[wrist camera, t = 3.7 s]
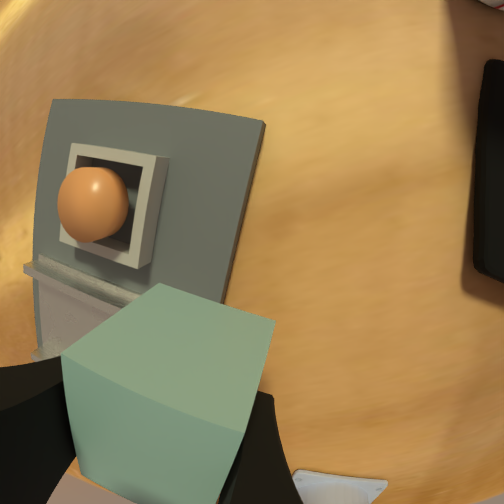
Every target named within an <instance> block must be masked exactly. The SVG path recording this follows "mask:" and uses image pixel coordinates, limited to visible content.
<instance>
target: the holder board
mask: <svg viewBox="0 0 504 504" xmlns="http://www.w3.org/2000/svg"><path fill="white" fill-rule="evenodd" d="M265 126H266V124H265V123H264V121H262V120H257V119H252V118H247V117H242V116H236V115H231V114H225V113H219V112H213V111H206V110H200V109H193V108H185V107H177V106H169V105H160V104H150V103H139V102H126V101H110V100H85V99H53V100H52V104H51V109H50V113H49V117H48V122H47V127H46V132H45V137H44V142H43V148H42V154H41V160H40V167H39V174H38V182H37V191H36V201H35V213H34V229H33V261H34V260H36V259H38V258H39V254H40V253H43V254H45V255H47V256H50V257H52V258H54V259H56V260H59V261H61V262H64V263H66V264H68V265H71V266H73V267H75V268H78V269H80V270H83V271H85V272H88V273H90V274H93V275H95V276H98V277H100V278H103V279H105V280H108V281H110V282H113V283H116V284H118V285H121V286H124V287H126V288H129V289H132V290H134V291H137V292H140V293H142V294H144V293H145V292H147V291H148V290H149V289H151V288H152V287H154V286H155V285H157V284H158V283H162V284H164V285H167V286H170V287H173V288H176V289H179V290H182V291H185V292H187V293H190V294H193V295H196V296H199V297H202V298H205V299H208V300H211V301H214V302H217V303H220V304H223V303H224V298H225V294H226V289H227V285H228V281H229V276H230V272H231V268H232V263H233V259H234V255H235V250H236V246H237V242H238V237H239V233H240V229H241V225H242V220H243V216H244V212H245V208H246V204H247V199H248V195H249V191H250V187H251V183H252V179H253V175H254V170H255V166H256V162H257V158H258V154H259V150H260V146H261V142H262V138H263V134H264V130H265ZM72 143H78V144H88V145H95V146H102V147H109V148H115V149H122V150H128V151H134V152H140V153H145V154H151V155H156V156H162V157H167V158H170V160H169V164H168V169H167V174H166V179H165V184H164V189H163V194H162V199H161V204H160V210H159V215H158V221H157V227H156V233H155V239H154V246H153V252H152V259H151V262H150V263H148V264H146V265H144V266H143V267H141V268H139V269H135V268H133V267H130V266H127V265H124V264H121V263H118V262H115V261H113V260H110V259H107V258H104V257H101V256H99V255H96V254H93V253H90V252H88V251H85V250H82V249H80V248H77V247H74V246H72V245H69V244H66V243H64V242H61V241H59V239H60V225H61V221H60V218H59V214H58V206H57V202H58V194H59V190H60V187H61V184H62V182H63V181H64V179H65V178H66V173H67V166H68V160H69V154H70V149H71V144H72ZM91 167H103V168H109V169H111V170H113V171H114V172H116V173H117V174H118V175H119V176H120V177H121V178H122V180H123V182H124V184H125V186H126V188H127V192H128V197H129V208H128V214H127V217H126V220H125V222H124V224H123V225H122V227H121V228H120V229H119V230H118V231H117V232H116V233H115V234H113V235H111V236H108V237H109V238H112V239H115V240H118V241H121V242H124V243H127V244H130V243H131V236H132V229H133V222H134V215H135V209H136V203H137V197H138V191H139V186H140V180H141V175H142V170H143V167H142V166H137V165H132V164H127V163H121V162H116V161H110V160H105V159H99V158H93V160H92V166H91ZM33 295H34V311H35V324H36V334H37V342H38V348H39V347H40V346H42V345H43V341H42V332H41V320H40V305H39V280H37V279H35V278H33Z"/></svg>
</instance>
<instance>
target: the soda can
mask: <svg viewBox="0 0 504 504" xmlns="http://www.w3.org/2000/svg"><path fill="white" fill-rule="evenodd" d="M478 1H480V2H482V3H484V4H486V5H488V6H491V7H493V8H496V9H499V10H504V0H478Z"/></svg>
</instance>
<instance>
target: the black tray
mask: <svg viewBox="0 0 504 504" xmlns="http://www.w3.org/2000/svg"><path fill="white" fill-rule="evenodd" d="M475 155H476V162H475V195H474V249H473V262H474V268H475V269H476V270H477V271H478V272H479V273H482V274H484V275H486V276H489V277H491V278H493V279H496V280H498V281H500V282H502V283H504V61H502V60H496V59H490V60H489V61H487V63H486V64H485V67H484V74H483V80H482V86H481V92H480V99H479V108H478V126H477V139H476V149H475Z"/></svg>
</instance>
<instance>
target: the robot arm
mask: <svg viewBox="0 0 504 504" xmlns="http://www.w3.org/2000/svg"><path fill="white" fill-rule="evenodd" d="M76 456H77V455H76V451H75V446H74V442H73V437H72V432H71V427H70V421H69V416H68V410H67V403H66V397H65V389H64V381H63V372H62V363H61V356H57V357H54V358H50V359H46V360H42V361H38V362H34V363H29V364H23V365H17V366H9V367H0V504H46V503H47V501H48V499H49V497H50V496H51V494H52V492H53V491H54V489H55V487H56V486H57V484H58V483H59V481H60V479H61V478H62V476H63V475H64V473H65V472H66V470H67V469H68V467H69V466H70V464H71V463H72V461H73V460H74V459H75V457H76ZM387 486H388V482H387V480H379V479H367V478H357V477H348V476H340V475H332V474H325V473H319V472H313V471H307V470H297V471H295V472H294V474H293V475H292V476H291V473H290V470H289V467H288V465H287V462H286V458H285V455H284V452H283V448H282V444H281V440H280V436H279V432H278V427H277V421H276V415H275V407H274V398H273V396H272V395H270V394H267V393H263V392H260V391H257V393H256V396H255V400H254V403H253V407H252V410H251V414H250V417H249V421H248V424H247V427H246V431H245V434H244V436H243V439H242V441H241V444H240V446H239V449H238V451H237V454H236V456H235V459H234V461H233V464H232V466H231V468H230V471H229V473H228V476H227V478H226V480H225V483H224V485H223V487H222V490H221V494H220V498H219V502H218V504H371V503H372V502H373V501H374V500H375V498H376V497H377V496H378V495H379V494H380V493H381V492H382V491H383V490H384V489H385V488H386V487H387Z"/></svg>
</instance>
